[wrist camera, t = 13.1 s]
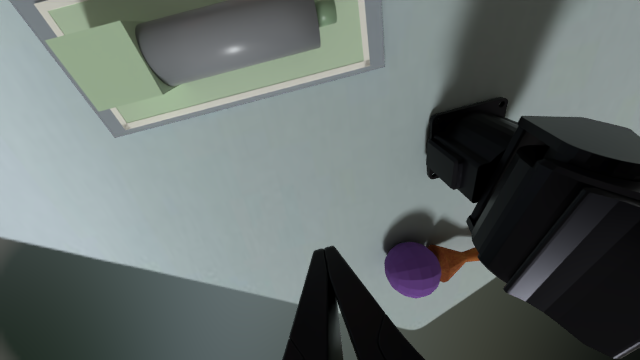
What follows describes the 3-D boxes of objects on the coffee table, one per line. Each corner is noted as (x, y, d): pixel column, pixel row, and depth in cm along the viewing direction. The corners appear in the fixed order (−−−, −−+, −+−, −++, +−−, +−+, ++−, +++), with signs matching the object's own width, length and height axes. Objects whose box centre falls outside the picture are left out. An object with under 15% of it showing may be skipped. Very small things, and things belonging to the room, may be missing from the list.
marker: (323, -24, 14) (334, -37, 11) (334, 43, 16) (346, 46, 13) (93, 37, 14) (44, 40, 11) (131, 96, 16) (98, 111, 13)
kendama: (540, 274, 30) (393, 311, 27) (504, 234, 34) (373, 262, 31) (575, 249, 26) (406, 290, 22) (529, 208, 30) (381, 237, 27)
